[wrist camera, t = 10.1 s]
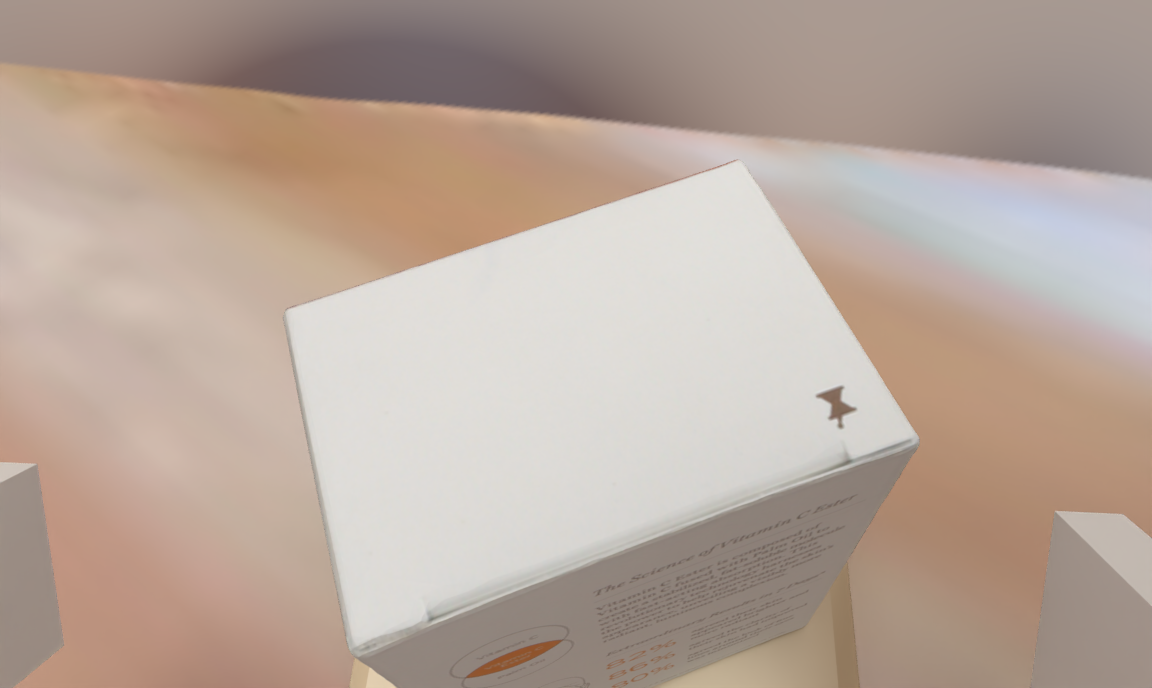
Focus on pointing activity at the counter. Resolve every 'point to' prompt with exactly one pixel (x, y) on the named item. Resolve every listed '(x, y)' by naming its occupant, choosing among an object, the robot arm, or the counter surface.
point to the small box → (592, 445)
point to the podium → (761, 655)
